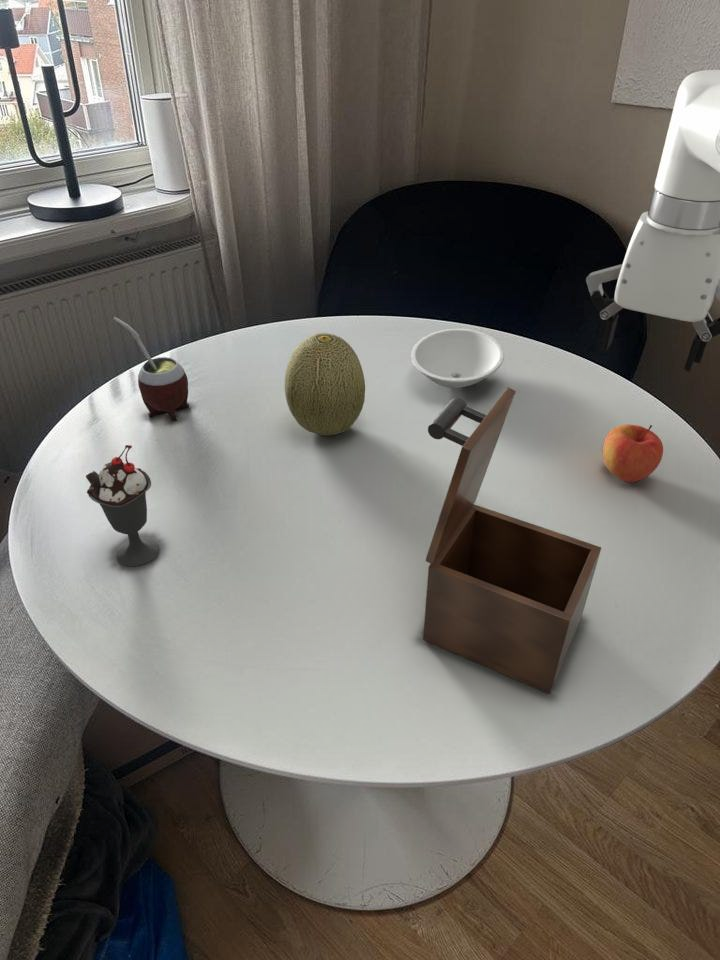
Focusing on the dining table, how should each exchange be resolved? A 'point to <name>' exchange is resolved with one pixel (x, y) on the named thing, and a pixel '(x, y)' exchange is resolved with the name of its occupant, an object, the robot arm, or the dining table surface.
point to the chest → (509, 595)
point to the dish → (457, 356)
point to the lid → (465, 462)
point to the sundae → (125, 507)
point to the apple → (632, 452)
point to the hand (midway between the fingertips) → (646, 356)
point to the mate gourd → (161, 383)
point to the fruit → (324, 384)
